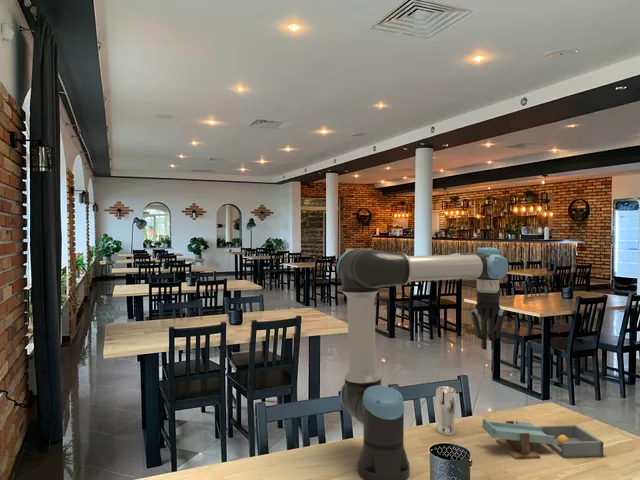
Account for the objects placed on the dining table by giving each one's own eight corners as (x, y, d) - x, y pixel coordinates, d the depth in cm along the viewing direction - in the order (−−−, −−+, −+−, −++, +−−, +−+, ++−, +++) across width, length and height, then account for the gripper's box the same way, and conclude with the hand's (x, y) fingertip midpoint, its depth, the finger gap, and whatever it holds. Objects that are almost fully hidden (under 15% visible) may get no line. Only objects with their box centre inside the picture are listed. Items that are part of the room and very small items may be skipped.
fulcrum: (515, 459, 147) (515, 435, 147) (496, 441, 160) (496, 420, 160) (540, 458, 148) (540, 435, 148) (519, 440, 161) (519, 419, 161)
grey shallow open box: (563, 458, 148) (563, 443, 148) (539, 439, 162) (539, 426, 162) (603, 456, 149) (603, 442, 149) (575, 438, 163) (575, 424, 163)
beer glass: (433, 433, 167) (433, 390, 167) (438, 426, 174) (438, 385, 173) (453, 437, 164) (453, 393, 164) (458, 429, 170) (457, 387, 170)
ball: (560, 438, 154) (570, 436, 154) (554, 434, 157) (564, 432, 157) (561, 449, 154) (572, 447, 154) (555, 444, 157) (565, 442, 157)
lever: (493, 438, 149) (494, 428, 149) (473, 419, 164) (474, 411, 164) (554, 444, 151) (555, 435, 151) (529, 425, 166) (530, 417, 166)
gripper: (473, 292, 164) (473, 361, 164) (510, 292, 165) (510, 361, 165) (465, 290, 172) (465, 356, 172) (501, 290, 173) (500, 355, 172)
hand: (487, 358), depth 168 cm, fingers closed
